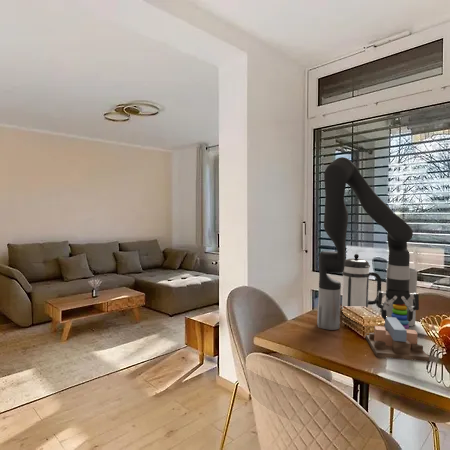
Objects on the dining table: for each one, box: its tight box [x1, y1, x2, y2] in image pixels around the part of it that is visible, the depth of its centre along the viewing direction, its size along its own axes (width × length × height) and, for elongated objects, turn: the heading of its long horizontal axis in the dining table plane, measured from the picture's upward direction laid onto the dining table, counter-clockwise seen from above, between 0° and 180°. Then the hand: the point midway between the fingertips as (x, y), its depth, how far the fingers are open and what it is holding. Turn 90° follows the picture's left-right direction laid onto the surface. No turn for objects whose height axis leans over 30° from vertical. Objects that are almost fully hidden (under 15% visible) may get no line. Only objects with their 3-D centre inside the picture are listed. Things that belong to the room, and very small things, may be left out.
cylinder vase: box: [385, 266, 418, 327], centre depth 164 cm, size 12×12×25 cm
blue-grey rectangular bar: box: [384, 317, 407, 342], centre depth 133 cm, size 16×4×4 cm, turn 166°
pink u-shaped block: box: [373, 325, 418, 348], centre depth 133 cm, size 14×4×6 cm, turn 72°
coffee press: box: [340, 253, 382, 311], centre depth 178 cm, size 17×16×30 cm
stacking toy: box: [392, 304, 410, 330], centre depth 151 cm, size 8×8×19 cm
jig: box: [365, 325, 430, 362], centre depth 133 cm, size 17×20×5 cm
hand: (396, 319), depth 133 cm, fingers open, 8 cm apart
